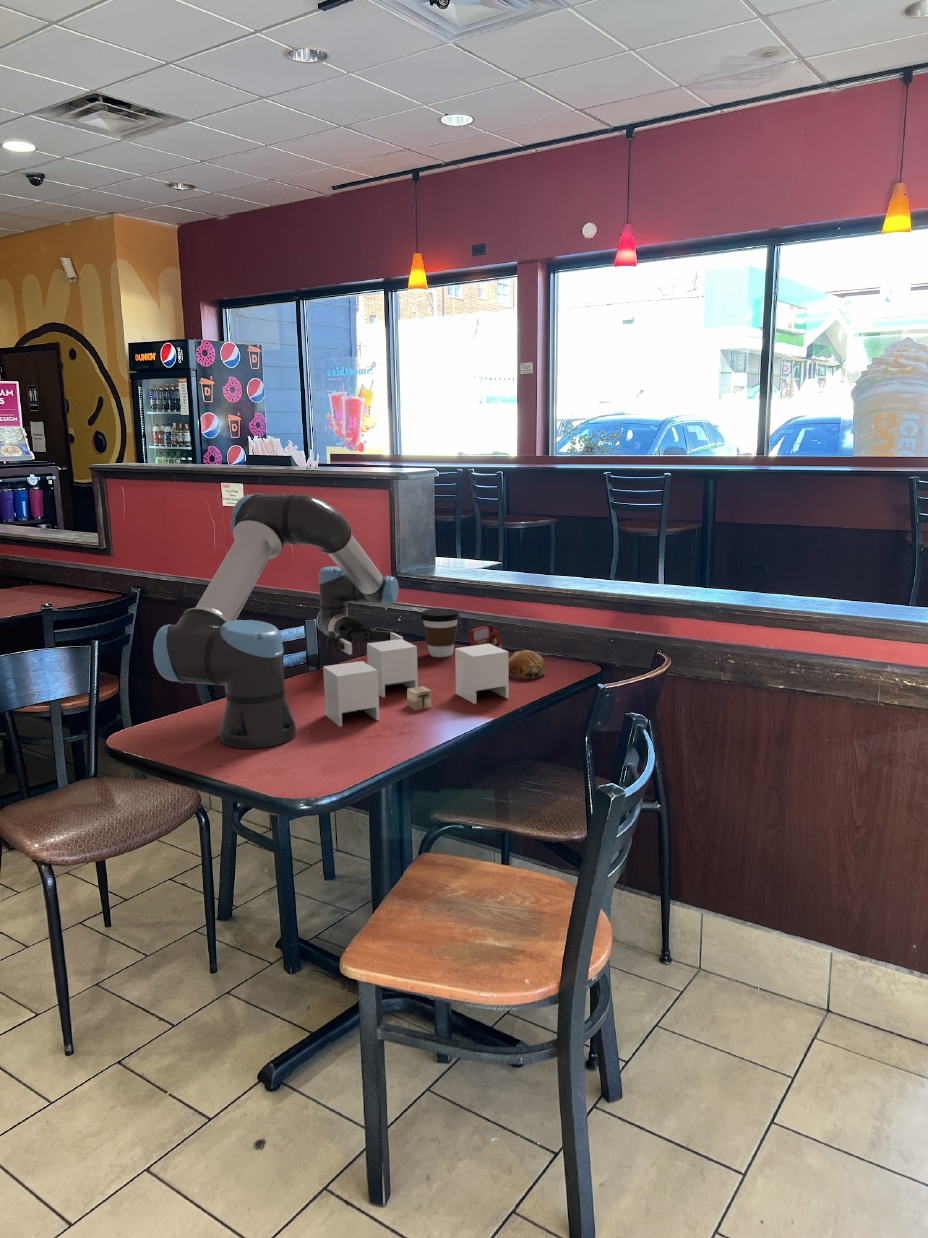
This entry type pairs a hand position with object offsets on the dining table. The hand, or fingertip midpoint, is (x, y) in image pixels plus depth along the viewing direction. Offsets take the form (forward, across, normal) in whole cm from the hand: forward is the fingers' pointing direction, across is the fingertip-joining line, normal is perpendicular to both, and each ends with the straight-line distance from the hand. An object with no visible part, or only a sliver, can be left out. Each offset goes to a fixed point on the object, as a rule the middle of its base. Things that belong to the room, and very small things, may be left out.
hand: (376, 646), depth 219 cm
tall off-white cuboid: (+10, 0, -9) cm, 13 cm away
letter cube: (+25, 0, -9) cm, 26 cm away
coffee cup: (-15, -25, -9) cm, 31 cm away
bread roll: (+14, -34, -9) cm, 38 cm away
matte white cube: (+25, +16, -9) cm, 31 cm away
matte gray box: (+25, -16, -9) cm, 31 cm away
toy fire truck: (0, -31, -9) cm, 32 cm away
